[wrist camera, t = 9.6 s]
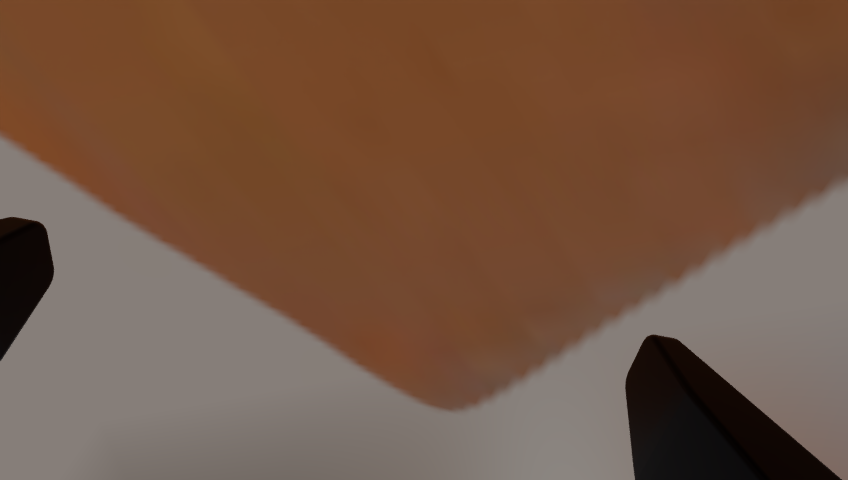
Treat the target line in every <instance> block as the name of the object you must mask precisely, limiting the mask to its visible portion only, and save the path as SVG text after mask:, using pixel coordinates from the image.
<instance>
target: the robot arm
mask: <svg viewBox="0 0 848 480" xmlns="http://www.w3.org/2000/svg"><path fill="white" fill-rule="evenodd" d="M53 275H54V266H53V261H52V255H51V250H50V245H49V240H48V235H47V231H46V228H45V227H44V225H43V224H41V223H40V222H38V221H32V220H28V219H22V218H16V217H9V218H4V219H0V361H1V359H2V358H3V357H4V355H5V354H6V352H7V351H8V349H9V348H10V346H11V344H12V343H13V341H14V340H15V338H16V337H17V335H18V333H19V332H20V331H21V329H22V328H23V326H24V324H25V323H26V321H27V320H28V318H29V317H30V315H31V314H32V312H33V311H34V309H35V308H36V306H37V305H38V303H39V301H40V300H41V298H42V297H43V295H44V294H45V292H46V291H47V289H48V288H49V286H50V284H51V282H52V279H53ZM625 389H626V399H627V409H628V418H629V428H630V438H631V448H632V458H633V467H634V475H635V480H842V479H840V478H839V477H838V476H837V475H835V473H833V472H832V471H831V470H830V469H829V468H828V467H826V466H825V465H824V464H823V463H822V462H820V461H819V460H818V459H817V458H816V457H815V456H813V455H812V454H811V453H810V452H809V451H808V450H806V449H805V448H804V447H803V446H802V445H801V444H799V443H798V442H797V441H796V440H795V439H794V438H792V437H791V436H790V435H789V434H788V433H787V432H785V431H784V430H783V429H782V428H781V427H779V426H778V425H777V424H776V423H775V422H774V421H773V420H771V419H770V418H769V417H768V416H767V415H765V414H764V413H763V412H762V411H761V410H760V409H758V408H757V407H756V406H755V405H754V404H752V403H751V402H750V401H749V400H748V399H747V398H746V397H744V396H743V395H742V394H741V393H740V392H738V391H737V390H736V389H735V388H734V387H733V386H732V385H730V384H729V383H728V382H727V381H726V380H724V379H723V378H722V377H721V376H720V375H719V374H717V373H716V372H715V371H714V370H713V369H712V368H710V367H709V366H708V365H707V364H706V363H705V362H703V361H702V360H701V359H700V358H699V357H697V356H696V355H695V354H694V353H693V352H692V351H691V350H689V349H688V348H687V347H686V346H685V345H683V344H682V343H681V342H680V341H679V340H677V339H674V338H670V337H664V336H658V335H650V336H648V337H646V339H645V340H644V341H643V343H642V345H641V347H640V349H639V351H638V353H637V356H636V357H635V360H634V362H633V363H632V366H631V368H630V370H629V372H628V375H627V378H626V387H625Z"/></svg>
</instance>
